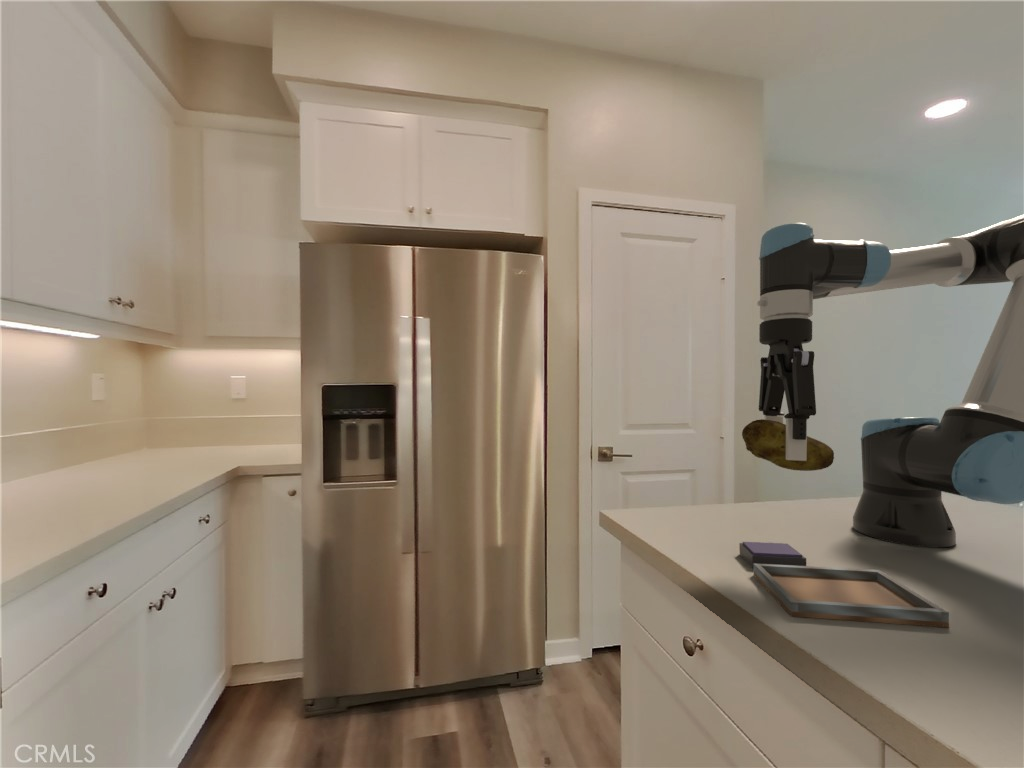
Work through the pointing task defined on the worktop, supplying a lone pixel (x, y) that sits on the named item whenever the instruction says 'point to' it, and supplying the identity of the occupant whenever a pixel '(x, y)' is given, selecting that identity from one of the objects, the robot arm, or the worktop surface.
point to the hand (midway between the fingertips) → (784, 456)
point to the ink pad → (771, 554)
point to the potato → (783, 446)
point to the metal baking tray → (847, 595)
